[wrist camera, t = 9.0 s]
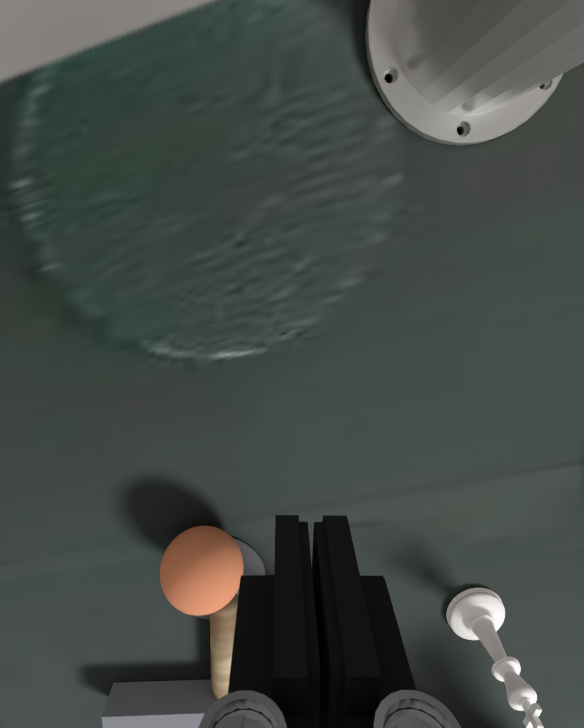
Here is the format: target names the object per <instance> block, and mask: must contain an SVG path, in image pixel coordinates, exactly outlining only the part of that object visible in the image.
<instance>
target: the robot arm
mask: <svg viewBox="0 0 584 728" xmlns="http://www.w3.org/2000/svg"><path fill="white" fill-rule="evenodd" d="M365 41H366V50H367V59H368V64H369V67H370V71H371V74H372V78H373V81H374V84H375V86H376V88H377V90H378V92H379V94H380V96H381V98H382V100H383V102H384V103H385V104H386V106H387V107H388V108H389V109H390V111H391V112H392V113H393V115H394V116H395V117H396V118H397V119H398V120H399V121H400V122H401V123H403V124H404V125H405V126H406V127H407V128H408V129H409V130H411V131H413V132H415V133H417V134H418V135H420V136H422V137H424V138H425V139H428V140H432V141H435V142H438V143H441V144H449V145H460V146H462V145H470V144H478V143H482V142H485V141H488V140H491V139H494V138H497V137H499V136H501V135H503V134H505V133H507V132H509V131H512V130H513V129H515V128H516V127H518V126H519V125H521V124H522V123H523V122H525V121H526V120H528V119H529V118H530V117H531V116H532V115H533V114H534V113H535V112H536V111H537V110H538V109H539V108H540V107H541V106H542V105H543V104H544V103H545V102H546V101H547V99H548V98H549V97H550V95H551V94H552V93H553V91H554V90H555V89H556V87H557V85H558V83H559V81H560V79H561V77H562V75H563V73H565V72H567V71H568V70H570V69H572V68H574V67H576V66H578V65H580V64H581V63H583V62H584V0H370V2H369V7H368V11H367V16H366V35H365ZM385 76H389V77H390V78H391V83H387V82H386V81H385V79H384V78H385ZM539 86H540V87H539ZM457 128H460V129H461V135H459V134H458V133H457ZM198 728H461V726H460V725H459V723H458V722H457V720H456V718H455V717H454V715H453V714H452V712H451V711H450V710H449V709H448V708H447V707H445V706H444V705H443V704H442V703H441V702H440V701H439V700H437V699H435V698H434V697H432V696H430V695H429V694H426V693H423V692H420V691H416V688H415V684H414V681H413V677H412V674H411V670H410V667H409V663H408V660H407V656H406V652H405V649H404V645H403V642H402V638H401V635H400V631H399V628H398V624H397V621H396V617H395V613H394V610H393V606H392V603H391V599H390V596H389V592H388V589H387V585H386V582H385V579H384V578H383V576H360V574H359V570H358V565H357V560H356V556H355V551H354V546H353V542H352V537H351V533H350V528H349V523H348V519H347V516H323V521H322V522H314V535H313V555H312V567H311V556H310V544H309V533H308V523H307V522H299V516H298V515H276V525H275V575H241V578H240V585H239V595H238V604H237V613H236V622H235V632H234V641H233V650H232V659H231V669H230V678H229V687H228V694H226V695H224V696H223V697H221V698H220V699H219V700H217V701H216V702H214V703H213V704H212V705H211V707H210V708H209V709H208V710H207V711H206V713H205V714H204V716H203V718H202V720H201V722H200V725H199V727H198Z"/></svg>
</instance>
